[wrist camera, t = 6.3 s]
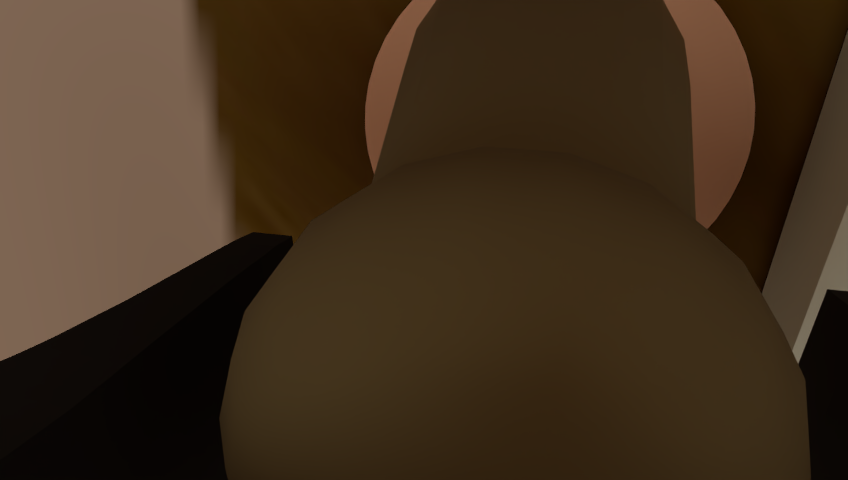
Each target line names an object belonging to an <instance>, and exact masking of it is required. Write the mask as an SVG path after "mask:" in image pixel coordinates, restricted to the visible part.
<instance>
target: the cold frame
mask: <svg viewBox="0 0 848 480" xmlns="http://www.w3.org/2000/svg"><path fill="white" fill-rule="evenodd" d="M827 289H831V290H841V291H848V31H847V34H846V37H845V40H844V43H843V46H842V49H841V52H840V55H839V58H838V61H837V64H836V67H835V71H834V74H833V77H832V80H831V83H830V86H829V89H828V92H827V95H826V98H825V101H824V104H823V107H822V110H821V113H820V117H819V120H818V123H817V126H816V129H815V132H814V135H813V138H812V141H811V144H810V147H809V150H808V153H807V156H806V159H805V162H804V166H803V169H802V172H801V175H800V178H799V181H798V184H797V187H796V190H795V193H794V196H793V199H792V202H791V205H790V208H789V211H788V215H787V218H786V221H785V224H784V227H783V230H782V233H781V236H780V239H779V242H778V245H777V248H776V251H775V254H774V257H773V260H772V264H771V267H770V270H769V273H768V276H767V279H766V282H765V285H764V288H763V291H762V295H763V297H764V299H765V301H766V302H767V304H768V306H769V308H770V309H771V311H772V313H773V315H774V316H775V318H776V320H777V322H778V323H779V325H780V327H781V329H782V330H783V332H784V334H785V336H786V339H787V341H788V343H789V345H790V347H791V350H792V352H793V354H794V356H795V358H796V360H797V363H799V361H800V358H801V356H802V353H803V350H804V348H805V345H806V343H807V340H808V338H809V335H810V332H811V330H812V327H813V325H814V322H815V319H816V317H817V314H818V312H819V309H820V307H821V304H822V301H823V299H824V296H825V294H826V291H827Z"/></svg>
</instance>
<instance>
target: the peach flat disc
mask: <svg viewBox="0 0 848 480" xmlns="http://www.w3.org/2000/svg"><path fill="white" fill-rule="evenodd" d="M435 1H436V0H412V1H411V2H410V4H409V5H408V6H407V7H406V8H405V10H404V11H403V12H402V13H401V15H400V16H399V17H398V19H397V20H396V22H395V23H394V25H393V27H392V28H391V30H390V31H389V33H388V35H387V36H386V38H385V40H384V42H383V44H382V47H381V49H380V51H379V53H378V56H377V58H376V60H375V63H374V67H373V70H372V74H371V77H370V81H369V85H368V92H367V98H366V105H365V132H366V140H367V148H368V153H369V157H370V161H371V165H372V169H373V172H374V174H375V170H376V167H377V163H378V160H379V156H380V153H381V149H382V146H383V142H384V139H385V135H386V131H387V128H388V124H389V121H390V117H391V114H392V110H393V107H394V103H395V100H396V96H397V93H398V89H399V85H400V82H401V78H402V75H403V71H404V68H405V65H406V61H407V58H408V55H409V52H410V48H411V45H412V42H413V38H414V35H415V32H416V29H417V27H418V26H419V24H420V23H421V21H422V20H423V18H424V17H425V16H426V14H427V13H428V11H429V10H430V9H431V7H432V6H433V4H434V3H435ZM664 2H665V4H666V6H667V8H668V10H669V12H670V14H671V16H672V17H673V19H674V21H675V23H676V25H677V27H678V29H679V31H680V32H681V34H682V36H683V38H684V41H685V48H686V56H687V63H688V71H689V79H690V89H691V113H692V137H693V161H694V186H695V210H696V221H697V222H699V223H700V224H701V225H702V226H704V227H705V228H706V229H708V228H709V227H710V226H711V224H712V223H713V222H714V221H715V220H716V219H717V217H718V216H719V214H720V213H721V212H722V210H723V209H724V207H725V206H726V204H727V203H728V202H729V200H730V198H731V196H732V194H733V193H734V191H735V189H736V187H737V185H738V183H739V181H740V179H741V177H742V174H743V171H744V168H745V165H746V162H747V160H748V157H749V153H750V148H751V143H752V138H753V133H754V121H755V98H754V88H753V79H752V75H751V72H750V68H749V64H748V60H747V57H746V53H745V51H744V49H743V47H742V44H741V42H740V40H739V38H738V35H737V33H736V31H735V29H734V27H733V26H732V24H731V23H730V21H729V20H728V18H727V17H726V15H725V14H724V12H723V11H722V9H721V8H720V6H719V5H718V4H717V3H716V2H715V1H714V0H664Z"/></svg>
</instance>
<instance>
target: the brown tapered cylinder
mask: <svg viewBox="0 0 848 480" xmlns="http://www.w3.org/2000/svg"><path fill="white" fill-rule="evenodd" d="M219 420H220V429H221V437H222V446H223V454H224V462H225V470H226V474H227V478H228V480H811V468H810V448H809V432H808V415H807V399H806V382H805V378H804V376H803V374H802V371H801V369H800V367H799V365H798V363H797V360H796V358H795V356H794V354H793V352H792V350H791V347H790V345H789V343H788V341H787V339H786V336H785V334H784V332H783V330H782V329H781V327H780V325H779V323H778V322H777V320H776V318H775V316H774V315H773V313H772V311H771V309H770V308H769V306H768V304H767V302H766V301H765V299H764V297H763V295H762V294H761V292H760V290H759V288H758V287H757V285H756V283H755V281H754V280H753V278H752V276H751V274H750V273H749V271H748V269H747V267H746V266H745V264H744V262H743V261H742V260H741V259H740V258H739V257H738V256H736V255H735V254H734V253H733V252H732V251H731V250H730V249H729V248H728V247H727V246H726V245H724V244H723V243H722V242H721V241H720V240H719V239H718V238H717V237H716V236H715V235H714V234H712V233H711V232H710V231H709V230H707V229H706V228H705V227H704V226H702V225H701V224H700V223H699V222H697V221H696V210H695V186H694V161H693V137H692V113H691V89H690V79H689V71H688V63H687V56H686V48H685V41H684V38H683V36H682V34H681V32H680V31H679V29H678V27H677V25H676V23H675V21H674V19H673V17H672V16H671V14H670V12H669V10H668V8H667V6H666V4H665V2H664V0H436V1H435V3H434V4H433V6H432V7H431V9H430V10H429V11H428V13H427V14H426V16H425V17H424V18H423V20H422V21H421V23H420V24H419V26H418V27H417V29H416V32H415V35H414V38H413V42H412V45H411V48H410V52H409V55H408V58H407V61H406V65H405V68H404V71H403V75H402V78H401V82H400V85H399V89H398V93H397V96H396V100H395V103H394V107H393V110H392V114H391V117H390V121H389V124H388V128H387V131H386V135H385V139H384V142H383V146H382V149H381V153H380V156H379V160H378V163H377V167H376V170H375V174H374V177H373V181H372V184H370V185H369V186H367V187H365V188H364V189H362V190H360V191H359V192H357V193H356V194H354V195H352V196H351V197H349V198H347V199H346V200H344V201H342V202H341V203H339V204H338V205H336V206H334V207H333V208H331V209H329V210H328V211H326V212H325V213H323V214H321V215H320V216H318V217H316V218H315V219H313V220H312V221H311V222H310V223H309V225H308V226H307V227H306V229H305V230H304V231H303V233H302V234H301V235H300V237H299V238H298V239H297V241H296V242H295V243H294V245H293V246H292V247H291V249H290V250H289V252H288V253H287V254H286V256H285V257H284V258H283V260H282V261H281V262H280V264H279V265H278V266H277V268H276V269H275V270H274V272H273V273H272V274H271V276H270V277H269V278H268V280H267V281H266V283H265V284H264V285H263V287H262V288H261V289H260V291H259V292H258V294H257V295H256V296H255V298H254V299H253V300H252V302H251V303H250V305H249V306H248V307H247V309H246V310H245V312H244V315H243V319H242V322H241V326H240V329H239V333H238V336H237V340H236V343H235V347H234V350H233V354H232V357H231V362H230V367H229V372H228V377H227V382H226V387H225V392H224V397H223V402H222V407H221V412H220V417H219Z"/></svg>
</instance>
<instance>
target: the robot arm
mask: <svg viewBox="0 0 848 480" xmlns="http://www.w3.org/2000/svg"><path fill="white" fill-rule="evenodd" d="M292 246H293V241H292V236H285V235H275V234H265V233H255V232H253V233H250V234H248V235H246V236H244V237H241V238H239V239H237V240H235V241H233V242H231V243H229V244H228V245H226V246H224V247H222V248H220V249H218V250H216V251H214V252H213V253H211V254H209V255H207V256H205V257H204V258H202V259H200V260H198V261H197V262H195V263H193V264H191V265H189V266H188V267H186V268H184V269H182V270H180V271H179V272H177V273H175V274H173V275H171V276H170V277H168V278H166V279H164V280H162V281H161V282H159V283H157V284H155V285H153V286H152V287H150V288H148V289H146V290H145V291H142V292H141V293H139V294H137V295H135V296H133V297H132V298H130V299H128V300H126V301H124V302H122V303H120V304H118V305H116V306H114V307H112V308H110V309H108V310H107V311H104V312H102V313H100V314H98V315H96V316H95V317H93V318H91V319H89V320H87V321H85V322H83V323H81V324H79V325H77V326H75V327H73V328H71V329H69V330H67V331H65V332H63V333H61V334H59V335H57V336H55V337H53V338H51V339H49V340H47V341H45V342H43V343H40V344H38V345H36V346H34V347H32V348H29V349H27V350H25V351H23V352H21V353H18V354H16V355H14V356H12V357H9V358H7V359H5V360H2V361H0V480H228V478H227V474H226V470H225V462H224V454H223V446H222V437H221V429H220V420H219V417H220V412H221V407H222V402H223V397H224V392H225V387H226V382H227V377H228V372H229V367H230V362H231V357H232V354H233V350H234V347H235V343H236V340H237V336H238V333H239V329H240V326H241V322H242V319H243V315H244V312H245V310H246V309H247V307H248V306H249V305H250V303H251V302H252V300H253V299H254V298H255V296H256V295H257V294H258V292H259V291H260V289H261V288H262V287H263V285H264V284H265V283H266V281H267V280H268V278H269V277H270V276H271V274H272V273H273V272H274V270H275V269H276V268H277V266H278V265H279V264H280V262H281V261H282V260H283V258H284V257H285V256H286V254H287V253H288V252H289V250H290V249H291V247H292ZM798 365H799V367H800V369H801V371H802V374H803V376H804V378H805V382H806V399H807V415H808V432H809V448H810V468H811V480H848V291H841V290H831V289H827V291H826V294H825V296H824V299H823V301H822V304H821V307H820V309H819V312H818V314H817V317H816V319H815V322H814V325H813V327H812V330H811V332H810V335H809V338H808V340H807V343H806V345H805V348H804V350H803V353H802V356H801V358H800V361H799V363H798Z"/></svg>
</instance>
